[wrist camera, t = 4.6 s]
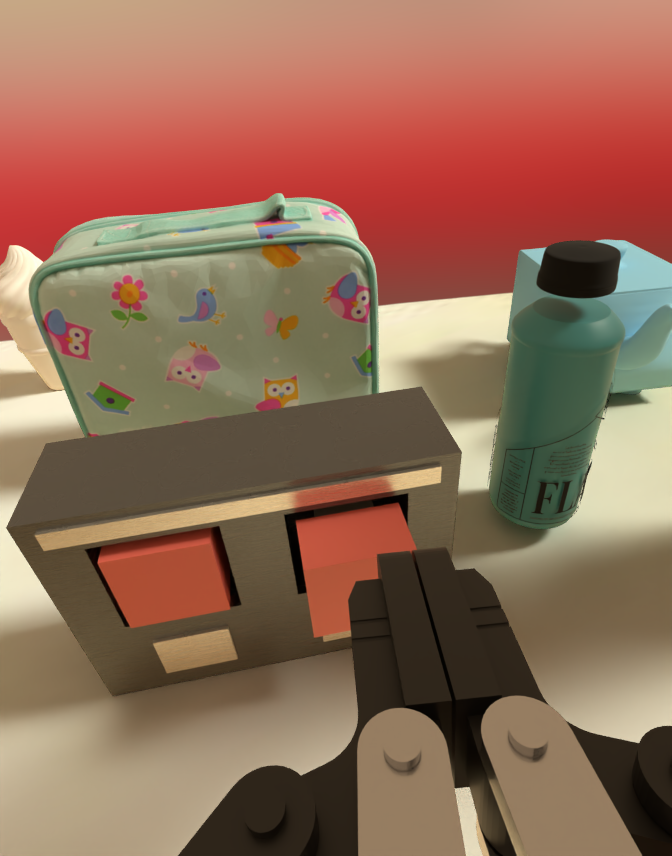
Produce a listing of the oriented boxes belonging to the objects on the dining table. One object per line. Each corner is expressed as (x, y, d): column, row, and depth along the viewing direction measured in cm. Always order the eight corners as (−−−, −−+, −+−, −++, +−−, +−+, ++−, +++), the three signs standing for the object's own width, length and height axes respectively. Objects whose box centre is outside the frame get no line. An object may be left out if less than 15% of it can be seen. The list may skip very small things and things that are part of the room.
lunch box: (373, 390, 55) (367, 170, 43) (396, 448, 47) (396, 196, 34) (119, 423, 53) (35, 203, 41) (96, 490, 45) (-20, 239, 32)
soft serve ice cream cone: (14, 391, 60) (-56, 253, 51) (73, 359, 66) (20, 230, 57) (60, 406, 57) (-5, 261, 47) (119, 371, 62) (70, 236, 53)
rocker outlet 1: (229, 537, 30) (212, 473, 28) (230, 609, 26) (210, 543, 23) (143, 552, 30) (116, 489, 27) (130, 628, 26) (97, 563, 23)
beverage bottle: (521, 558, 36) (583, 276, 24) (466, 499, 41) (495, 242, 29) (594, 527, 38) (685, 251, 26) (533, 474, 43) (585, 223, 31)
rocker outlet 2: (388, 542, 29) (387, 475, 26) (414, 617, 25) (417, 549, 22) (301, 557, 29) (291, 492, 26) (314, 637, 25) (303, 570, 22)
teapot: (496, 341, 62) (511, 223, 54) (585, 332, 63) (614, 213, 55) (586, 453, 44) (629, 301, 36) (710, 439, 45) (779, 286, 37)
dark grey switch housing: (415, 554, 37) (421, 386, 28) (445, 631, 32) (463, 454, 23) (128, 608, 35) (46, 443, 26) (112, 699, 30) (4, 531, 21)
